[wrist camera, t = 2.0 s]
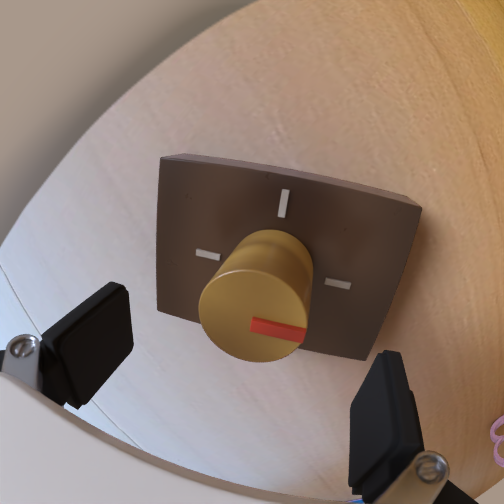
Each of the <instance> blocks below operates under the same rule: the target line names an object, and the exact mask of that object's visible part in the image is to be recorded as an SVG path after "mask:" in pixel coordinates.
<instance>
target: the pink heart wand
mask: <svg viewBox="0 0 504 504" xmlns="http://www.w3.org/2000/svg"><path fill="white" fill-rule="evenodd" d="M502 424H504V415H503V416H501V417H500V418H498V419H497V420H496V421H495V422H494V424H493V425H492V427H491V431H490V438H491V440H492V441H493V442H494V443H496V444H495V447H494V460H495V462H496V463H497V464H498V465H500V466H502V467H504V458H501V457H500V456H499V455H498V453H497V449H498V447H499V445H500V444H501V443H502V442H503V441H504V436H497V435H495V431H496V430H497V428H498V427H499V426H501V425H502Z"/></svg>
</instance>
